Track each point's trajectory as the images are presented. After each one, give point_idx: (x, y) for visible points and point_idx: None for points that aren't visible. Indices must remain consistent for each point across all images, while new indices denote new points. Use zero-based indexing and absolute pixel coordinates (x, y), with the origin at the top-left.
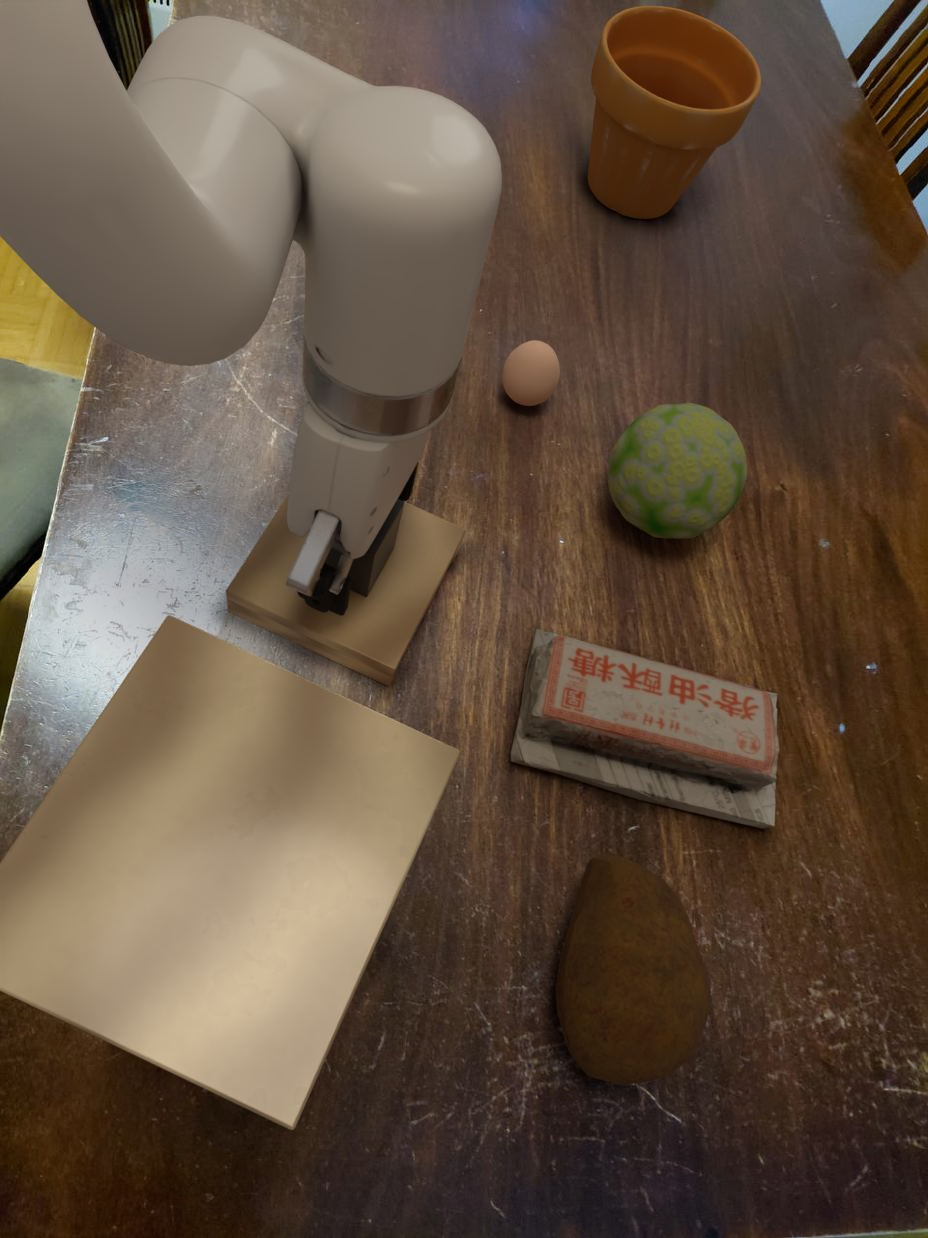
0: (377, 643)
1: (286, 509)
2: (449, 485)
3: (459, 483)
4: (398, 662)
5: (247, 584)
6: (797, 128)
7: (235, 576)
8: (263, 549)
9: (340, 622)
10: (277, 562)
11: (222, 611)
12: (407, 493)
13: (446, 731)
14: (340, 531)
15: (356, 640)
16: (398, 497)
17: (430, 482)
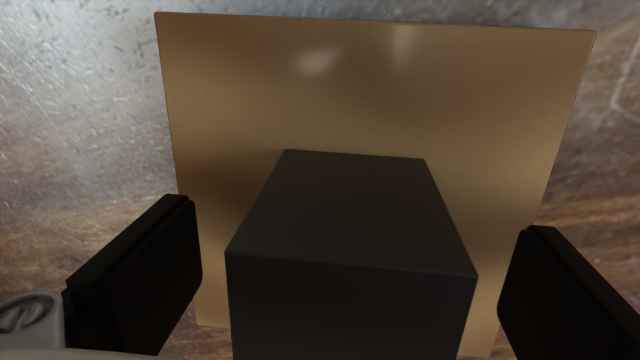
0: (219, 295)
1: (413, 42)
2: (602, 264)
3: (610, 277)
4: (209, 326)
5: (193, 50)
6: None
7: (194, 14)
8: (286, 42)
9: (220, 237)
10: (272, 86)
11: (193, 4)
12: (509, 340)
13: (208, 342)
14: (253, 331)
15: (205, 268)
16: (501, 303)
17: (602, 236)
